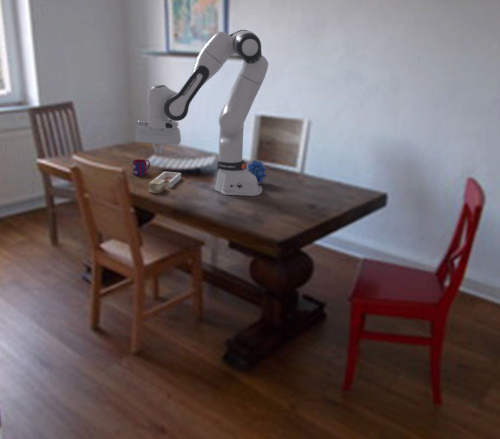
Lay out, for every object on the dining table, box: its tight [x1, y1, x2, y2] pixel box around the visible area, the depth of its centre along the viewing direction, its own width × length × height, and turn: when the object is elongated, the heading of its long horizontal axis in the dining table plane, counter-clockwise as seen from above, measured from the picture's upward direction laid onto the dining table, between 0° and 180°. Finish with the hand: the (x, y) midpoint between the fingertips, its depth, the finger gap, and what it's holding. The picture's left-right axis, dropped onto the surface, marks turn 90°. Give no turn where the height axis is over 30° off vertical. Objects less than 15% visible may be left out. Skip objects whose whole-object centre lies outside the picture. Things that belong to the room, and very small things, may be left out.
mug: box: [132, 158, 151, 177], centre depth 280 cm, size 7×10×7 cm
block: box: [148, 178, 166, 194], centre depth 255 cm, size 5×7×4 cm
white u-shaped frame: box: [154, 171, 182, 189], centre depth 267 cm, size 9×16×3 cm, turn 169°
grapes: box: [247, 160, 267, 183], centre depth 269 cm, size 12×7×12 cm, turn 127°
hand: (158, 152), depth 251 cm, fingers closed
